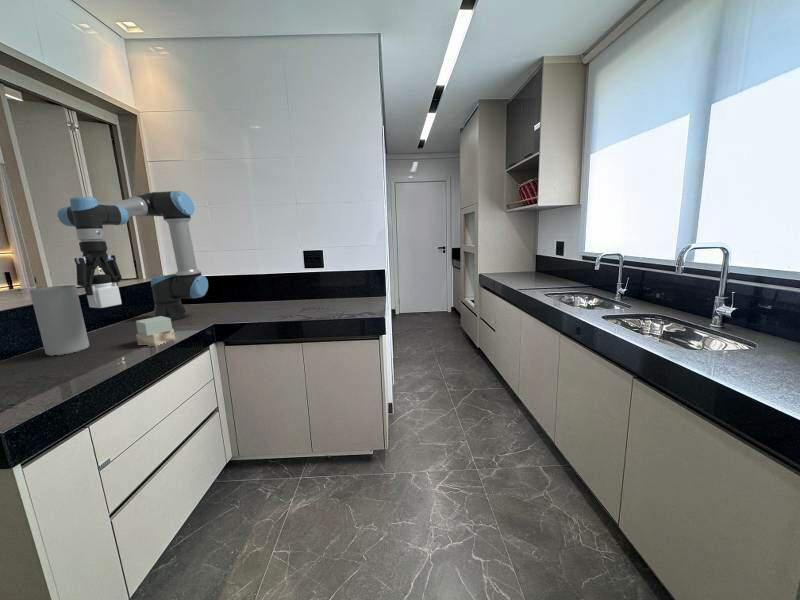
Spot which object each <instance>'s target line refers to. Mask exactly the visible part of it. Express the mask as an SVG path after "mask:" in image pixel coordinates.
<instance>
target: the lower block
mask: <svg viewBox="0 0 800 600" xmlns="http://www.w3.org/2000/svg"><path fill="white" fill-rule="evenodd" d="M172 329H173V330H171V331H166V332H162V333H158V334H153V335H149V336H146V335H143V334H140V333H136V334H135V335H136V336H135V337H136V340H137V342H136V343H137V346H138V345H148V346H147V347H151V346H156V347H158V346H157V345H159V346H161V345H160V344H162V345H164V344H163V343H165V344H167V343H166V342H168V343H170V342H169V341H171V342H173V341H172V340H174V341H176V340H175V339H176V336H175V335H176V334H175V329H174V328H172Z"/></svg>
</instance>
